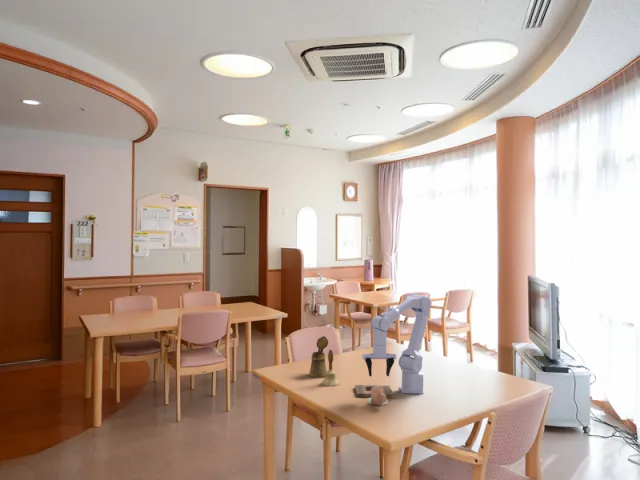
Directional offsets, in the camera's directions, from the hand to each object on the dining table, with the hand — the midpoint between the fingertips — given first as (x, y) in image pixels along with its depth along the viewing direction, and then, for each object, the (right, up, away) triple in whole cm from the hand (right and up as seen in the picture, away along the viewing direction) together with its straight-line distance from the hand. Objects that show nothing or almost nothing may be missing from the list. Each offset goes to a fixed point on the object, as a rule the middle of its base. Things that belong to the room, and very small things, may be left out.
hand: (378, 375), depth 195 cm
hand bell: (-21, -10, +19) cm, 29 cm away
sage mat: (-1, -10, -4) cm, 11 cm away
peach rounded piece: (-1, -9, -9) cm, 13 cm away
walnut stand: (-1, -10, +7) cm, 12 cm away
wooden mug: (-26, -9, +34) cm, 43 cm away
